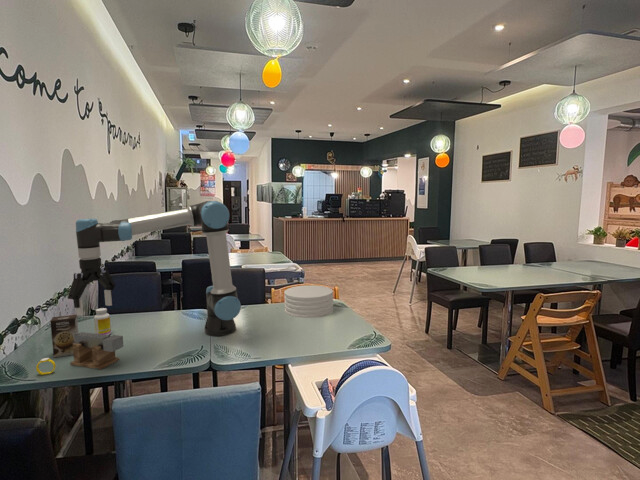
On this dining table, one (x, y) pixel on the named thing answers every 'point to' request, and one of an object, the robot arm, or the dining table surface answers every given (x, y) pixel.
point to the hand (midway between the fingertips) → (95, 310)
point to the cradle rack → (92, 357)
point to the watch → (45, 361)
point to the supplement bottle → (102, 322)
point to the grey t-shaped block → (100, 341)
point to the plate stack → (308, 301)
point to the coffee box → (63, 334)
